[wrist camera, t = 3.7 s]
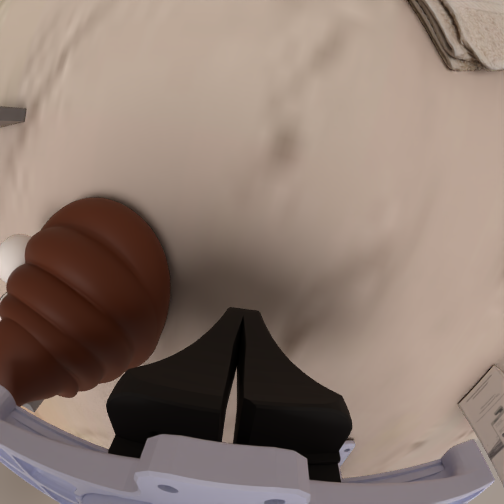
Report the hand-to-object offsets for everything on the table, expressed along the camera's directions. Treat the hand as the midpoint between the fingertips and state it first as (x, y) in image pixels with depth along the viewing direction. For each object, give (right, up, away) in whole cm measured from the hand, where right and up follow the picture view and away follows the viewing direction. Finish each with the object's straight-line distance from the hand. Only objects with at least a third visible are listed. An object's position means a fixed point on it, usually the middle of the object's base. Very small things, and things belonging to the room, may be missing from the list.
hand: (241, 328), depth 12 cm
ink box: (+23, -10, +5) cm, 25 cm away
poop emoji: (-8, +2, +2) cm, 8 cm away
